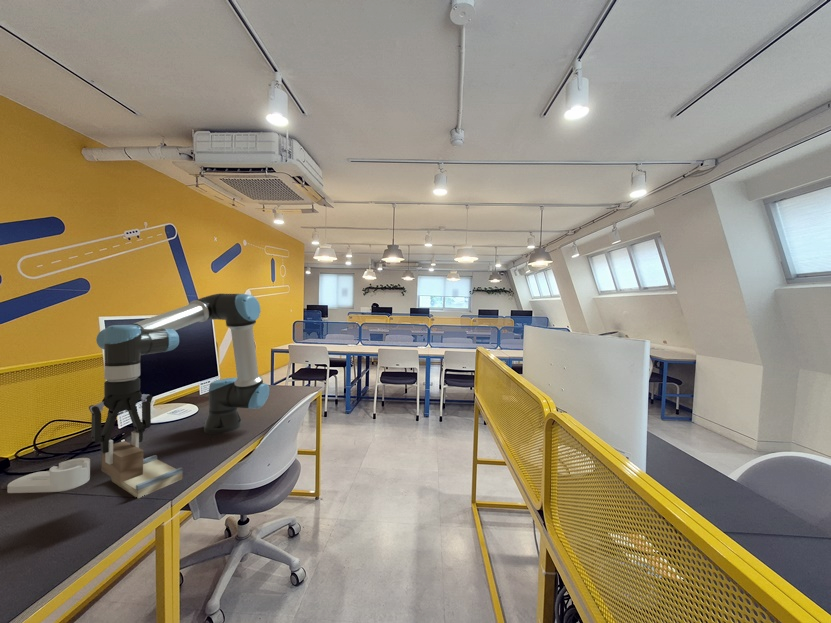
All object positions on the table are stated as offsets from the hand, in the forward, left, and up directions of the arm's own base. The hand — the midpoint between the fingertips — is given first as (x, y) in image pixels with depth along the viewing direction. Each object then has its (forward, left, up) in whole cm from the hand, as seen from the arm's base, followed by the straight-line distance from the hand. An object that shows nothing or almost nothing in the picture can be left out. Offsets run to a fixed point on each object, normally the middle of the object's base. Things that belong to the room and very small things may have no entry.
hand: (122, 458), depth 89 cm
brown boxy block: (0, 0, -4) cm, 4 cm away
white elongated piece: (+6, -33, -15) cm, 37 cm away
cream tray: (-10, -10, -14) cm, 20 cm away
